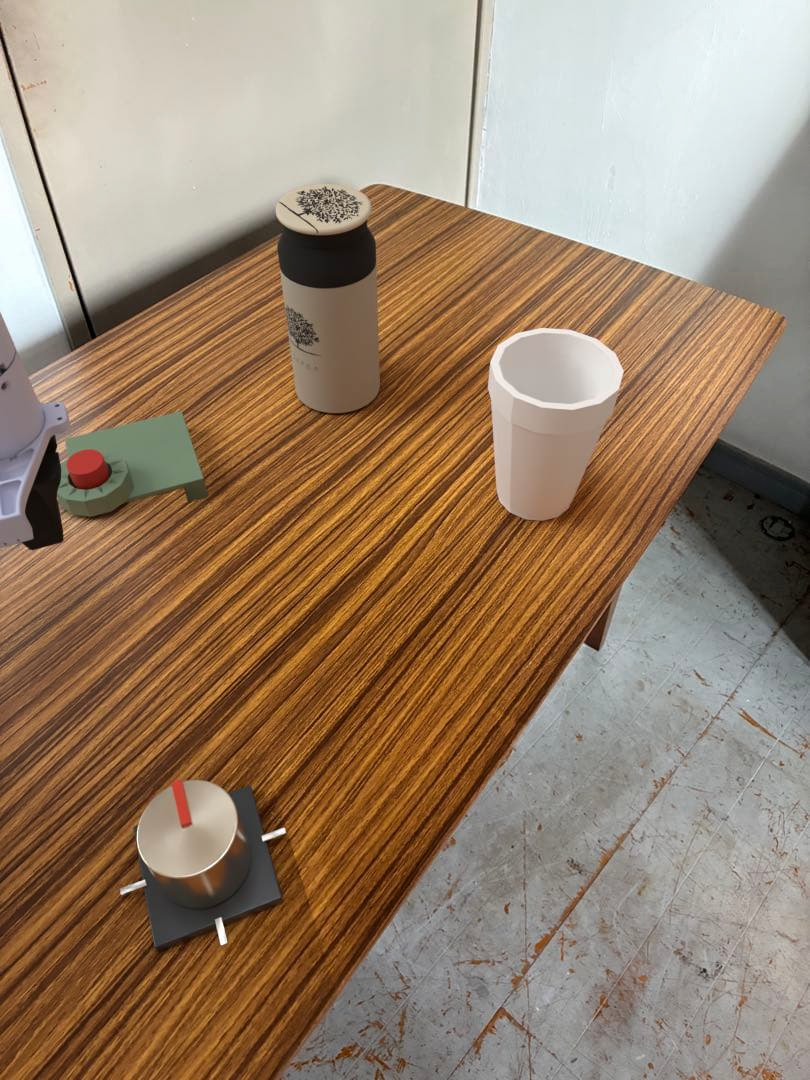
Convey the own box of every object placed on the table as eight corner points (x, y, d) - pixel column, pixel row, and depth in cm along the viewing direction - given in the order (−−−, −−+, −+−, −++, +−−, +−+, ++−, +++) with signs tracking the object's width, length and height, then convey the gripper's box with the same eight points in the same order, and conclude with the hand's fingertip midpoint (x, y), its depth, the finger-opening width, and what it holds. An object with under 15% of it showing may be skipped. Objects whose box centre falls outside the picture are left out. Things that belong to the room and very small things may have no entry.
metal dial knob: (262, 887, 45) (248, 852, 41) (168, 924, 44) (144, 893, 40) (238, 802, 48) (223, 762, 44) (150, 835, 47) (126, 797, 43)
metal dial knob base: (146, 992, 44) (134, 980, 42) (119, 831, 50) (107, 813, 48) (313, 924, 46) (309, 909, 44) (269, 777, 52) (264, 759, 50)
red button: (75, 494, 63) (68, 478, 62) (71, 470, 65) (64, 454, 63) (112, 484, 64) (105, 468, 62) (106, 461, 65) (100, 445, 64)
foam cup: (609, 481, 69) (643, 355, 59) (562, 551, 64) (591, 426, 54) (509, 440, 72) (526, 314, 63) (457, 504, 67) (467, 378, 57)
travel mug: (356, 353, 81) (346, 173, 67) (395, 398, 76) (392, 215, 62) (282, 378, 78) (256, 195, 64) (317, 426, 74) (297, 241, 60)
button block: (72, 542, 65) (56, 508, 62) (59, 460, 71) (43, 426, 68) (211, 505, 67) (202, 470, 64) (186, 429, 73) (177, 394, 70)
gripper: (54, 432, 38) (129, 606, 48) (26, 272, 46) (94, 449, 57) (-112, 471, 36) (3, 643, 46) (-109, 298, 45) (-13, 475, 55)
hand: (45, 538), depth 51 cm, fingers closed
